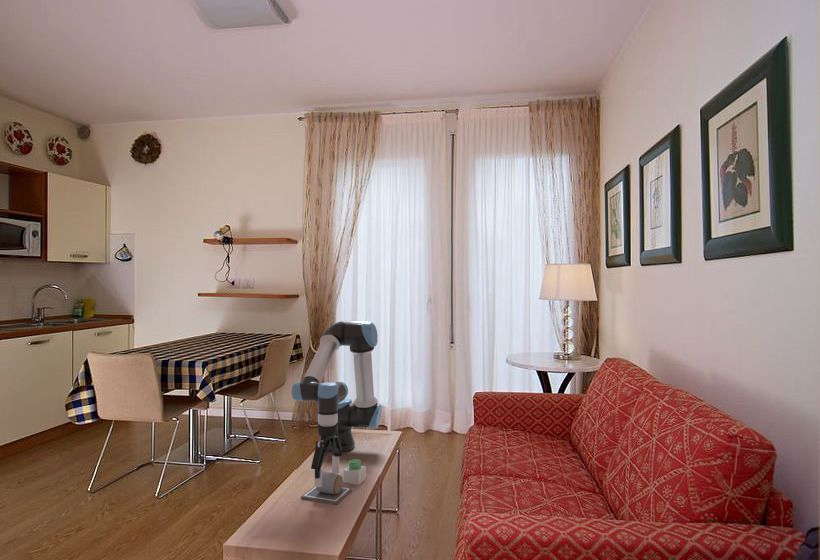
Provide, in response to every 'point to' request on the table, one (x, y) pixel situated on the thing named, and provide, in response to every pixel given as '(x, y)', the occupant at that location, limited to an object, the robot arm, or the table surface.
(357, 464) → the button
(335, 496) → the mat
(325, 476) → the ceramic mug
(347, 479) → the button box
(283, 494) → the table surface
